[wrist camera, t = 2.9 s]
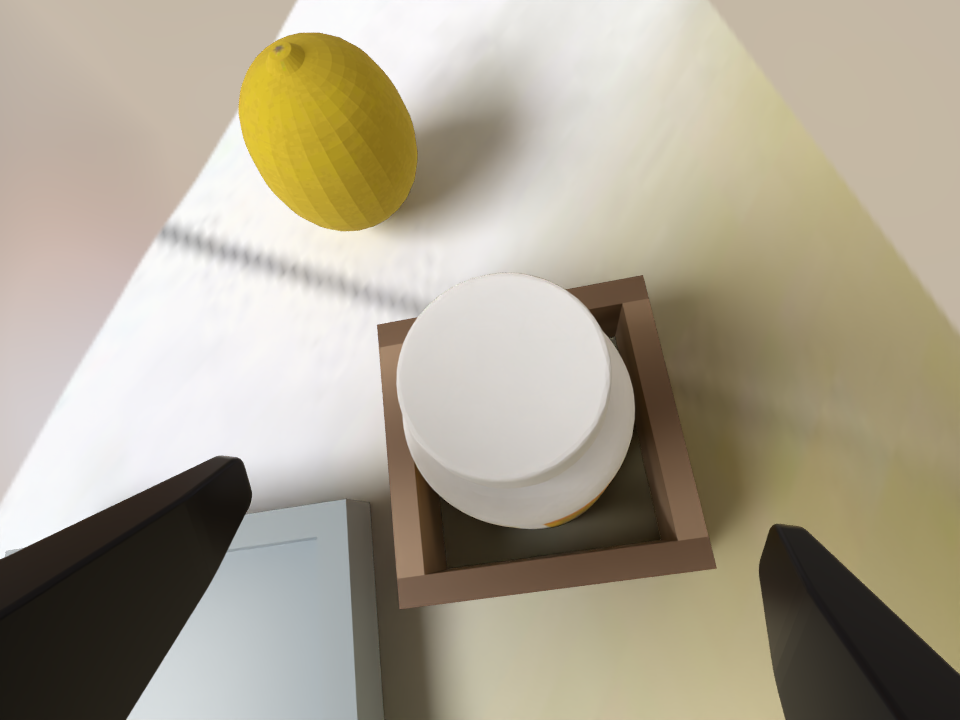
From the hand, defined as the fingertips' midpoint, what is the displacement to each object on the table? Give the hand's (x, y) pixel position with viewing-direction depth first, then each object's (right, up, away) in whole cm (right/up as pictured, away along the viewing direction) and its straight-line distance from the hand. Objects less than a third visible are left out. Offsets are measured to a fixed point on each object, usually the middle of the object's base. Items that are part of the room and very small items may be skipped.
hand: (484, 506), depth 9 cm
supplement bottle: (+2, -1, +10) cm, 10 cm away
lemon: (-5, +9, +14) cm, 17 cm away
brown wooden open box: (+2, -1, +10) cm, 10 cm away
